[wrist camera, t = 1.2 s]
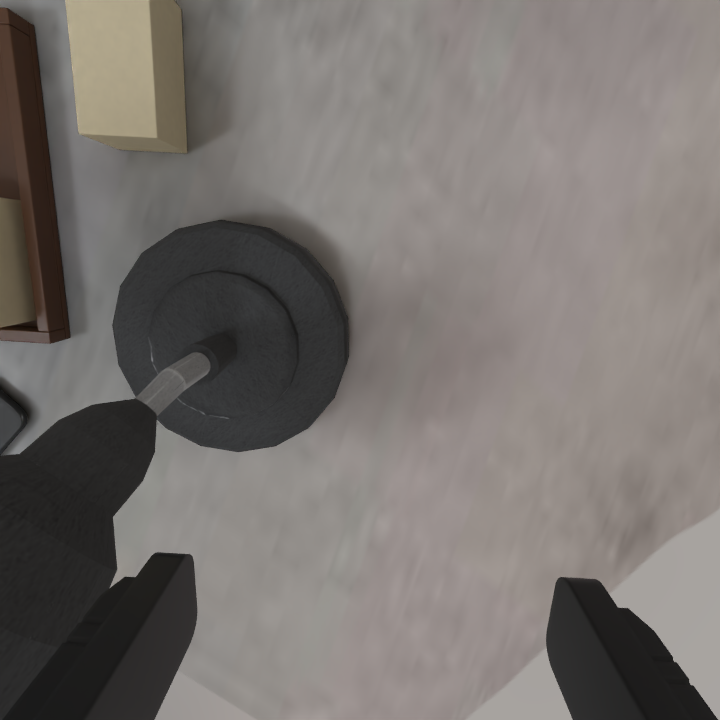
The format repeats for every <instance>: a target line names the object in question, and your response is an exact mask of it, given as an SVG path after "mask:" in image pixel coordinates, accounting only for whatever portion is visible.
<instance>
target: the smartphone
mask: <svg viewBox="0 0 720 720" xmlns="http://www.w3.org/2000/svg"><path fill="white" fill-rule="evenodd" d="M26 424H27V415H26V413H25V411H24V410H23V409H22V408H21V407H20V406H19V405H18V404H17V403H16V402H14V401H13V400H12V399H11V398H10V397H9V396H7V395H6V394H5V393H4V392H3V391H2V390H1V389H0V454H1V453H2V452H3V451H4V450H5V449H6V448H7V446H8V445H9V444H10V443H11V442H12V441H13V439H14V438H15V437H16V436H17V435H18V434H19V433H20V432H21V431H22V429H23V428H24V427H25V425H26Z"/></svg>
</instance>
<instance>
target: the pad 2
mask: <svg viewBox="0 0 720 720" xmlns="http://www.w3.org/2000/svg"><path fill="white" fill-rule="evenodd" d="M65 1H66V11H67V21H68V31H69V41H70V51H71V61H72V72H73V82H74V92H75V102H76V112H77V122H78V132H79V134H81V135H83V136H86V137H88V138H91V139H93V140H96V141H98V142H101V143H103V144H106V145H109V146H111V147H114V148H116V149H119V150H131V151H150V152H168V153H187V133H186V109H185V85H184V61H183V37H182V13H181V9H180V7H179V6H178V5H177V4H176V2H175V1H174V0H65Z"/></svg>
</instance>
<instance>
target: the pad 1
mask: <svg viewBox="0 0 720 720" xmlns="http://www.w3.org/2000/svg"><path fill="white" fill-rule="evenodd" d="M34 320H37V319H36V312H35V304H34V297H33V289H32V282H31V275H30V267H29V260H28V252H27V245H26V237H25V230H24V223H23V215H22V208H21V200H14V199H7V198H0V327H5V326H10V325H15V324H20V323H25V322H30V321H34Z"/></svg>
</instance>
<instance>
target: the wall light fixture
mask: <svg viewBox="0 0 720 720" xmlns="http://www.w3.org/2000/svg"><path fill="white" fill-rule="evenodd" d="M112 326H113V332H114V338H115V345H116V351H117V357H118V363H119V366H120V368H121V370H122V372H123V374H124V376H125V378H126V379H127V381H128V383H129V385H130V387H131V389H132V391H133V393H134V395H135V397H136V398H135V399H131V400H124V401H116V402H109V403H102V404H95V405H91V406H89V407H86V408H84V409H82V410H80V411H78V412H75V413H73V414H71V415H69V416H67V417H64V418H62V419H60V420H58V421H57V422H56V423H55V424H54V425H53V426H51V427H50V428H49V429H48V430H47V431H46V432H45V433H43V434H42V435H41V436H40V437H39V438H38V439H37V440H35V441H34V442H33V443H32V444H31V445H30V446H28V447H27V448H26V449H25V450H24V451H23V452H22V453H20V454H16V455H4V456H0V720H2V719H3V718H4V717H5V715H6V714H7V713H8V712H9V710H10V709H11V708H12V706H13V705H14V704H15V703H16V701H17V700H18V699H19V698H20V696H21V695H22V694H23V693H24V691H25V690H26V689H27V688H28V686H29V685H30V684H31V682H32V681H33V680H34V679H35V677H36V676H37V675H38V674H39V672H40V671H41V670H42V669H43V667H44V666H45V665H46V664H47V662H48V661H49V660H50V658H51V657H52V656H53V655H54V653H55V652H56V651H57V650H58V648H59V647H60V646H61V645H62V643H65V642H66V640H67V637H68V636H69V634H70V633H71V632H72V631H73V629H74V628H75V627H76V626H77V624H78V623H81V622H82V618H83V617H84V615H85V614H86V613H87V612H88V610H89V609H90V608H91V607H92V605H93V604H94V603H95V602H96V600H97V599H98V598H99V597H100V595H102V594H103V593H104V592H106V591H107V590H108V589H109V588H110V585H111V583H112V581H113V578H114V576H115V573H116V571H117V561H116V549H115V538H114V526H113V516H114V515H115V514H116V513H117V511H118V510H119V509H120V508H121V507H122V505H123V504H124V503H125V502H126V501H127V499H128V498H129V497H130V496H131V494H132V493H133V492H134V491H135V490H136V488H137V487H138V486H139V485H140V484H141V482H142V481H143V479H144V477H145V474H146V472H147V470H148V467H149V465H150V462H151V460H152V458H153V455H154V452H155V439H156V421H157V420H158V421H159V422H160V423H161V424H162V425H163V426H164V427H165V428H167V429H169V430H171V431H173V432H175V433H177V434H179V435H181V436H182V437H184V438H186V439H188V440H190V441H192V442H194V443H196V444H198V445H200V446H205V447H211V448H217V449H223V450H229V451H235V452H242V451H249V450H255V449H261V448H267V447H274V446H277V445H279V444H280V443H282V442H284V441H286V440H288V439H289V438H291V437H293V436H295V435H297V434H299V433H300V432H302V431H304V430H306V429H308V428H309V427H310V426H311V425H312V424H313V422H314V421H315V420H316V419H317V418H318V417H319V415H320V414H321V413H322V412H323V411H324V410H325V408H326V407H327V406H328V405H329V404H330V403H331V401H332V400H333V399H334V398H335V395H336V392H337V389H338V387H339V384H340V381H341V378H342V375H343V372H344V370H345V367H346V364H347V361H348V357H349V343H348V317H347V314H346V311H345V309H344V306H343V304H342V301H341V298H340V296H339V293H338V291H337V288H336V286H335V283H334V280H333V279H332V278H331V277H330V276H329V275H328V273H327V272H326V271H325V270H324V269H323V268H322V266H321V265H320V264H319V263H318V262H317V261H316V260H315V258H314V257H313V256H312V255H311V254H310V253H309V251H308V250H307V249H305V248H304V247H302V246H300V245H298V244H297V243H295V242H293V241H291V240H290V239H288V238H286V237H284V236H283V235H281V234H279V233H277V232H276V231H274V230H272V229H270V228H266V227H260V226H254V225H248V224H243V223H237V222H231V221H225V220H218V221H213V222H208V223H203V224H198V225H194V226H189V227H184V228H179V229H177V230H175V231H174V232H172V233H171V234H169V235H168V236H166V237H165V238H163V239H162V240H160V241H159V242H157V243H156V244H154V245H153V246H152V247H150V248H149V249H147V250H146V251H144V252H143V253H142V254H141V255H140V257H139V258H138V260H137V261H136V263H135V264H134V266H133V268H132V269H131V271H130V272H129V274H128V275H127V277H126V278H125V280H124V281H123V283H122V284H121V286H120V290H119V295H118V300H117V305H116V310H115V315H114V320H113V325H112Z"/></svg>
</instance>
